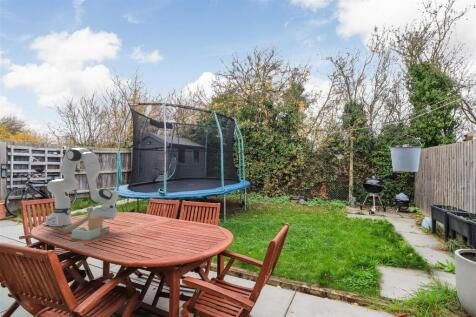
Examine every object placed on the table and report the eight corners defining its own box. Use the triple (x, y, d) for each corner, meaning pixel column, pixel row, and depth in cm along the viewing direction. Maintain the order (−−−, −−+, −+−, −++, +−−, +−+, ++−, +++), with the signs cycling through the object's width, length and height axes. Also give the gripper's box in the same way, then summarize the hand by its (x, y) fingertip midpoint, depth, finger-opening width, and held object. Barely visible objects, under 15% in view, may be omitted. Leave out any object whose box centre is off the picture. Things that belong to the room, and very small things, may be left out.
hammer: (66, 221, 219) (93, 206, 247) (61, 221, 220) (89, 206, 248) (69, 240, 222) (96, 223, 251) (64, 240, 223) (91, 223, 252)
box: (71, 238, 209) (71, 230, 209) (83, 234, 220) (83, 226, 220) (89, 240, 206) (89, 231, 206) (99, 235, 218) (100, 227, 218)
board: (83, 234, 220) (83, 229, 220) (93, 230, 232) (93, 225, 232) (99, 235, 218) (99, 230, 218) (109, 231, 230) (109, 226, 230)
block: (88, 229, 221) (88, 217, 221) (94, 227, 228) (94, 215, 228) (96, 229, 220) (96, 217, 220) (102, 227, 227) (102, 216, 226)
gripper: (93, 205, 237) (85, 219, 227) (116, 206, 234) (109, 221, 224) (96, 209, 241) (88, 224, 232) (119, 211, 238) (112, 225, 228)
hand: (98, 222), depth 228 cm, fingers closed, pressing on block
